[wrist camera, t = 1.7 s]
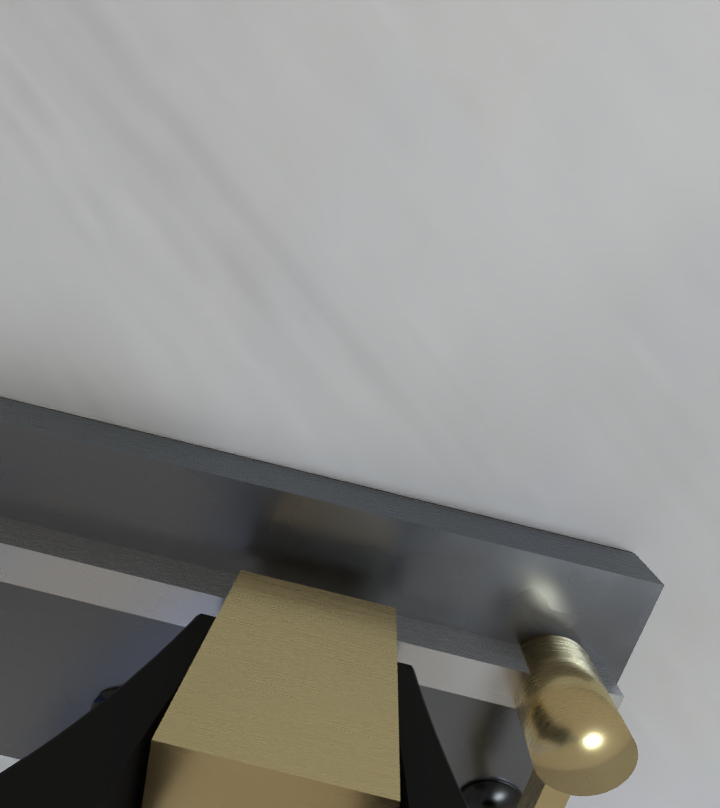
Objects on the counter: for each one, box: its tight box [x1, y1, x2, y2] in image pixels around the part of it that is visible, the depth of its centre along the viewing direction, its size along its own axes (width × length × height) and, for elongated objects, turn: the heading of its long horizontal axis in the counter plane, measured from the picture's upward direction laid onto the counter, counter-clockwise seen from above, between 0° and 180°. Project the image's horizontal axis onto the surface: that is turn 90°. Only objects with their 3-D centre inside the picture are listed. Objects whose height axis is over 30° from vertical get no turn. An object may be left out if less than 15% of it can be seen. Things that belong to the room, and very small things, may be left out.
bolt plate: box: [0, 397, 664, 808], centre depth 13 cm, size 12×20×4 cm, turn 77°
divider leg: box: [141, 570, 400, 808], centre depth 11 cm, size 8×4×5 cm, turn 167°
